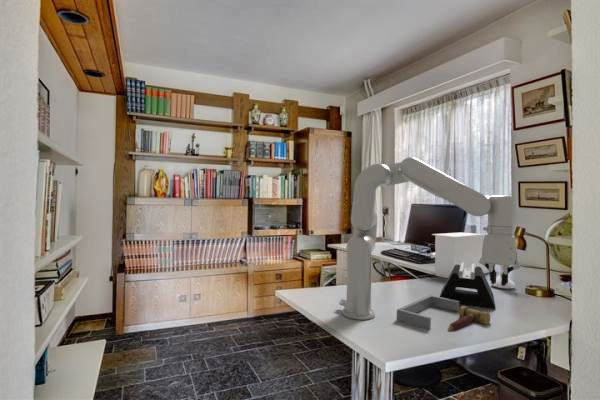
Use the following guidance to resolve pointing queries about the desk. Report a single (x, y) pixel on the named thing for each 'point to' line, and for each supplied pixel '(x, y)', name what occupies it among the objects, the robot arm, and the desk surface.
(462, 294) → the device stand
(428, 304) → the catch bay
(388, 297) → the desk surface
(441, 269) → the white stepped block
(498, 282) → the flower in vase
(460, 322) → the gavel
